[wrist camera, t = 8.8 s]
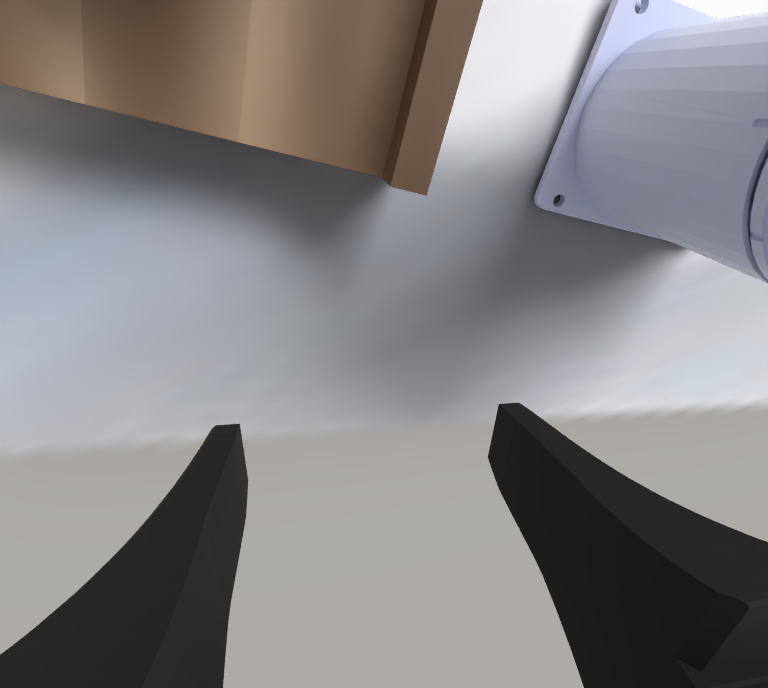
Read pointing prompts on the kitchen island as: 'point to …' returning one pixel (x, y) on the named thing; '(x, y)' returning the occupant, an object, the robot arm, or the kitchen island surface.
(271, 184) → the kitchen island surface
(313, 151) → the block
